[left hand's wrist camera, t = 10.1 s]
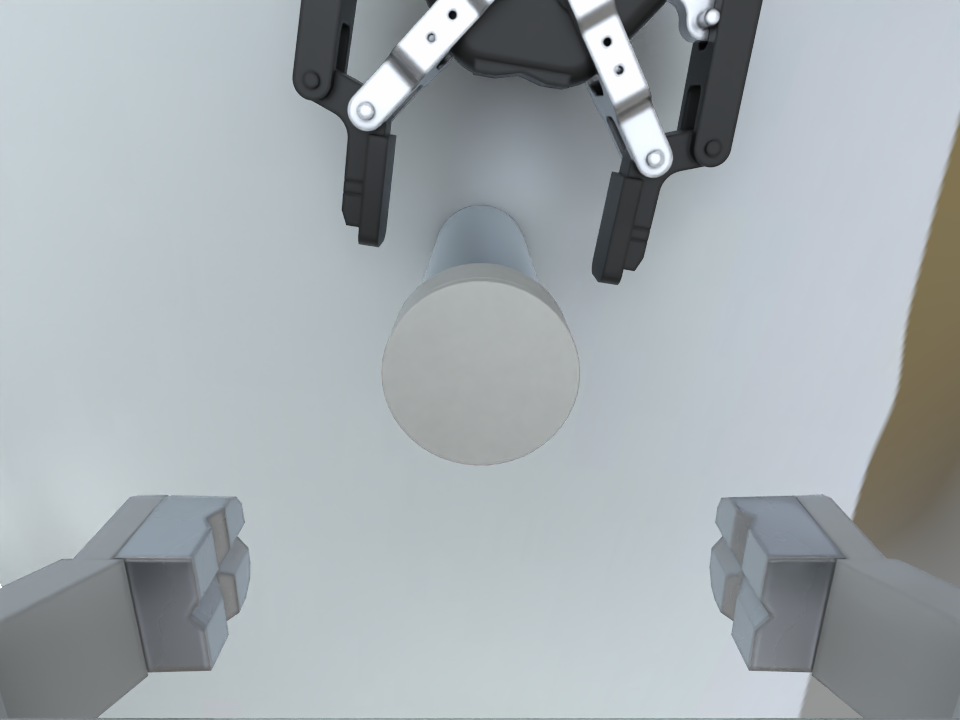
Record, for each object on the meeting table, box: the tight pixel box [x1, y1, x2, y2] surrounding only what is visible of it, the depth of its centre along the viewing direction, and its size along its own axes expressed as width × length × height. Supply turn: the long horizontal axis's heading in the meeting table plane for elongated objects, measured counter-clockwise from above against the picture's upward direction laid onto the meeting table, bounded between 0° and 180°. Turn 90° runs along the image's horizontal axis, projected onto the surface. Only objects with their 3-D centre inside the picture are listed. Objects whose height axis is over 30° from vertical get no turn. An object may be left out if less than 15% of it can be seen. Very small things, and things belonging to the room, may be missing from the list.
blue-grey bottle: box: [422, 205, 539, 284], centre depth 24 cm, size 4×4×15 cm
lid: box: [382, 263, 580, 465], centre depth 17 cm, size 5×5×2 cm
